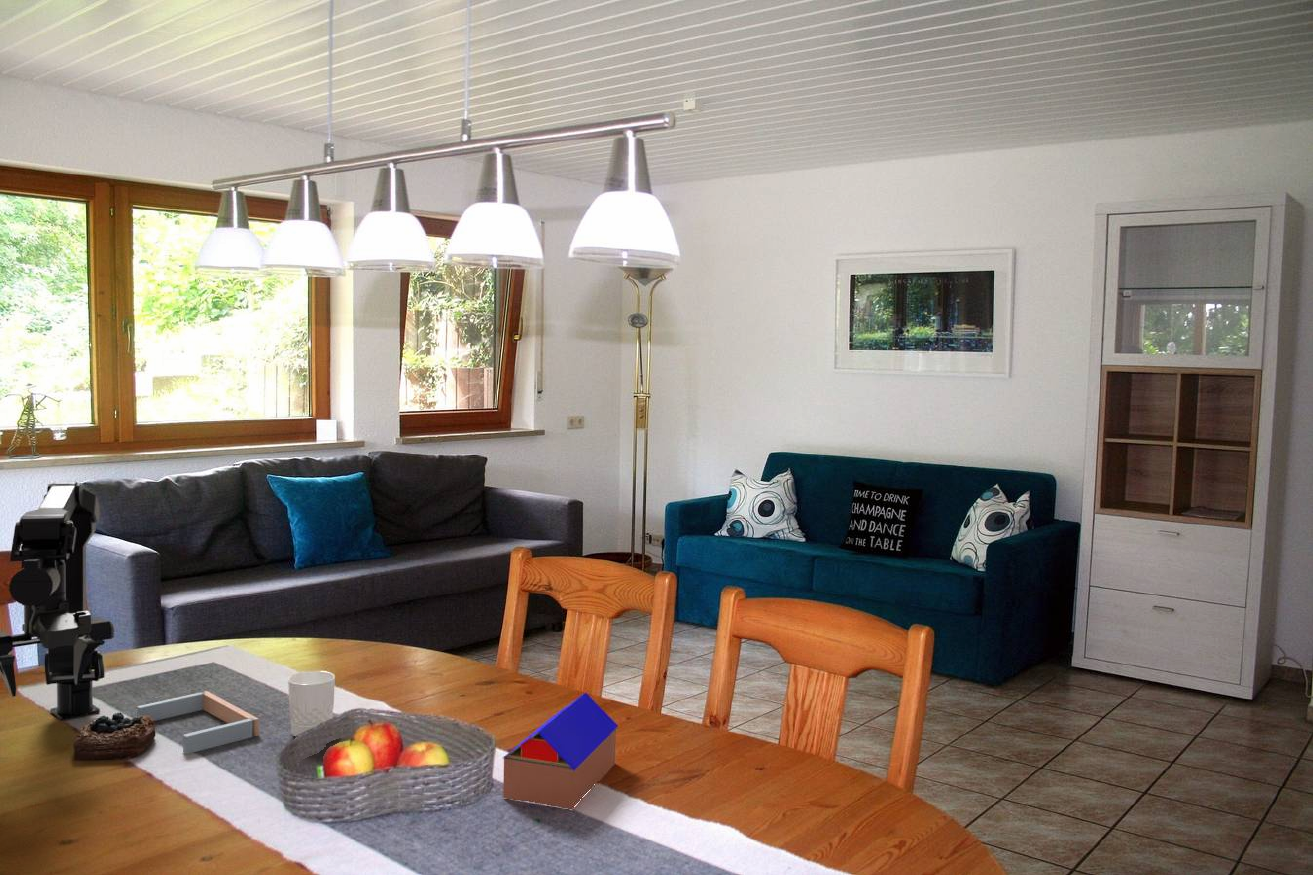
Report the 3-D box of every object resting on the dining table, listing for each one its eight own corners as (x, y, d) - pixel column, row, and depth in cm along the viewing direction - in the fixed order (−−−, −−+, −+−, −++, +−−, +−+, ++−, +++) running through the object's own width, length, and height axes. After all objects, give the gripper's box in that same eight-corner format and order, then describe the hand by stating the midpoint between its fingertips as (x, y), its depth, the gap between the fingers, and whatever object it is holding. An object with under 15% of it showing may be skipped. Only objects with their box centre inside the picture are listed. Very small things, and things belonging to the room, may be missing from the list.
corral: (137, 722, 186) (137, 706, 185) (206, 706, 195) (206, 690, 195) (186, 754, 172) (186, 736, 172) (258, 735, 181) (258, 718, 181)
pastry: (143, 760, 170) (142, 725, 169) (63, 764, 167) (62, 728, 167) (161, 736, 180) (161, 703, 180) (87, 739, 178) (86, 705, 178)
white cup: (320, 742, 179) (320, 686, 178) (279, 737, 180) (279, 682, 180) (342, 726, 187) (343, 672, 186) (303, 722, 188) (303, 668, 187)
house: (500, 801, 158) (501, 726, 157) (551, 754, 177) (552, 687, 176) (573, 813, 155) (574, 737, 154) (617, 764, 174) (619, 696, 173)
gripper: (-7, 609, 152) (-6, 714, 152) (126, 592, 165) (127, 688, 166) (-30, 598, 159) (-28, 698, 160) (100, 582, 173) (101, 674, 174)
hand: (45, 690), depth 165 cm, fingers open, 9 cm apart
